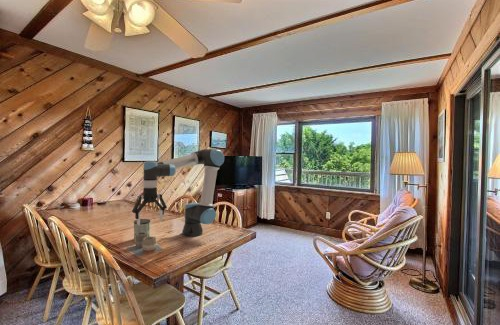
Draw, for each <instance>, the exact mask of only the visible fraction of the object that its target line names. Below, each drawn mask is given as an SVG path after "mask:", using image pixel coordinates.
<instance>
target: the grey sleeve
mask: <svg viewBox="0 0 500 325" xmlns="http://www.w3.org/2000/svg"><path fill="white" fill-rule="evenodd" d="M145 237H147V232H138V233H136V242H135V245H134V246H135V247H136V248H143V238H145Z"/></svg>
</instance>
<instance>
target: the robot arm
mask: <svg viewBox="0 0 500 325" xmlns="http://www.w3.org/2000/svg"><path fill="white" fill-rule="evenodd" d="M224 162H225V155H224V153H223V151H222V150H220V149H216V148H211V149H210V148H209V149H207V148H204V149H200V150H197V151H194V152H191V153H190V154H186V155H182V156H179V157H175V158H171V159H166V160H163V161H160V162H157V161H155V160H152V161H144V162H143V169H142V170H143V188H142V189H143V190H142V191H143V195H138V196H137V201H136V202H135V204H134V206H133V208H132V210H131V212H132V213H133V214H135V220H137V224H138V225H140V219H141V211H142V210H143V208H144V207H145V205H147V204H152V203H155V204H156V206H157V207H158V208H159V210H158V211H159V218H158V220H159V221H161V222H163V216H164V214H165V209H167V208H168V207H167V205H166V202H165V200H164V199H163V194H161V193H158V177H172V176H174V175H175V174H176V171H177V169H178V170H179V169H181V168H185V167H189V166H192V165H193V166H197V165H203V168H205V170H204V177H203V183H202V190H201V194H200V195H201V196H200V201H199V202H190V203H186V204H185V205H184V225H183V228H182V232H181V235H182V236H184V237H189V238H190V237H192V238H193V237H199V236H201V235H203V232H204V230H203V228H202V225H211V224H212V223H213V222H214V221H215V219H216V217H217V212H216V210H215V209H214V208H215V205H214V204H213V201H214V194H215V188H216V187H215V186H216V180H217V176H218V170H220V167H221V166H222V165H223V164H224ZM157 198H158V200H159V201H160V202H159V201H158V200H157ZM142 200H143V201H142Z"/></svg>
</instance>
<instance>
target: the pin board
mask: <svg viewBox="0 0 500 325" xmlns="http://www.w3.org/2000/svg"><path fill="white" fill-rule="evenodd" d="M126 249H127V250H128V251H130V253H132V254H133V255H135V256H136V257H140V256H145V255H147V254H144V253H143V248H136V247H135V245H132V246H129V247H126ZM162 251H165V249H164V248H162V247H161V246H159V245H158V244H156V251H155V252H154V253H157V252H162Z"/></svg>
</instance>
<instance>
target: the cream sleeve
mask: <svg viewBox="0 0 500 325" xmlns="http://www.w3.org/2000/svg"><path fill="white" fill-rule="evenodd" d="M156 240H157V238H156V237H155V236H151V235H150V236H149V237H145V238H143V253H144V254H146V255H149V254H150V255H151V254H154V253H156V252H155V251H156V245H157V241H156Z"/></svg>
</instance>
